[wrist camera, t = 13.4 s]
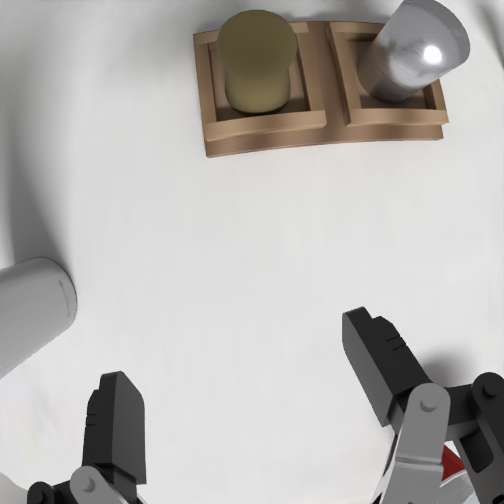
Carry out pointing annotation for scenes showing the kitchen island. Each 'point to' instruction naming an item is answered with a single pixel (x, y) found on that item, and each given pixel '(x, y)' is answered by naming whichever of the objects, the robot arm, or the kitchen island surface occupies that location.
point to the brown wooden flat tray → (314, 97)
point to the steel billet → (412, 51)
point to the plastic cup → (454, 480)
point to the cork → (257, 61)
